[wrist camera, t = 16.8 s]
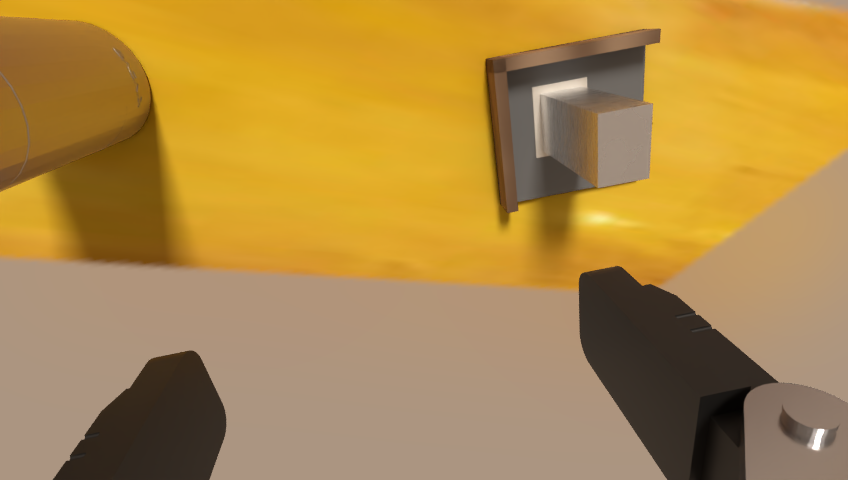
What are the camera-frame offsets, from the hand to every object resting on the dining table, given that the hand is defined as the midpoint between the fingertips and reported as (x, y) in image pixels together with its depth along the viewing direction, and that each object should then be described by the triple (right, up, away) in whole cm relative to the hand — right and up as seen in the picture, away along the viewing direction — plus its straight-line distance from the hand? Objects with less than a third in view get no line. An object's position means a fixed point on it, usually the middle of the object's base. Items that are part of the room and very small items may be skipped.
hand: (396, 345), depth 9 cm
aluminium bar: (+13, +13, +30) cm, 35 cm away
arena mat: (+13, +13, +31) cm, 36 cm away
